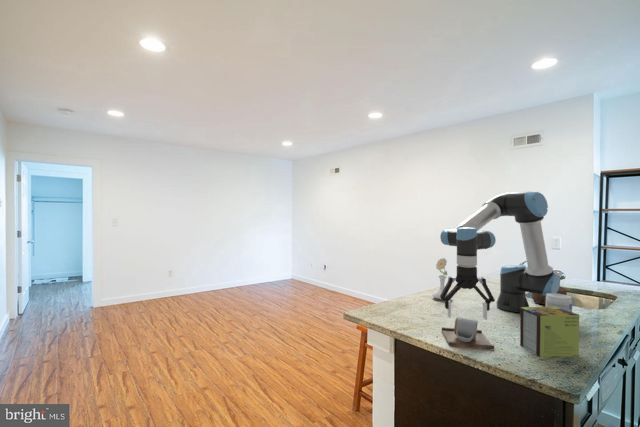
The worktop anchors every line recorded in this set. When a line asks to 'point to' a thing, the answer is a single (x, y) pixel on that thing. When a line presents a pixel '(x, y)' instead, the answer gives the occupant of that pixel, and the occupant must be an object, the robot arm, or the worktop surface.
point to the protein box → (549, 331)
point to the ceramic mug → (465, 329)
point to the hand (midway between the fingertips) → (466, 317)
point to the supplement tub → (559, 301)
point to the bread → (542, 299)
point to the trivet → (454, 341)
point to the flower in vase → (441, 278)
